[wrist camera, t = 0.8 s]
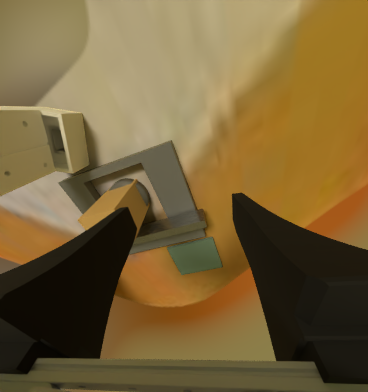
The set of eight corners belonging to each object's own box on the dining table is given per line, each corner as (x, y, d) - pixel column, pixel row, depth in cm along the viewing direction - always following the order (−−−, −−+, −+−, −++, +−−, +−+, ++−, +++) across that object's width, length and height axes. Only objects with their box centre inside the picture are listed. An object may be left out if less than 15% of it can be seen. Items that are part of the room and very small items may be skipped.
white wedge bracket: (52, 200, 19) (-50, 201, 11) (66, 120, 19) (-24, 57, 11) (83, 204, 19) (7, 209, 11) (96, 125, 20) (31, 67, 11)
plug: (123, 215, 23) (99, 253, 17) (103, 185, 21) (68, 216, 15) (155, 206, 22) (142, 243, 16) (138, 173, 20) (116, 201, 14)
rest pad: (181, 273, 29) (181, 275, 29) (167, 247, 26) (167, 248, 26) (222, 265, 28) (222, 267, 27) (212, 236, 24) (212, 238, 24)
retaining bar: (107, 240, 24) (97, 257, 21) (102, 233, 23) (91, 249, 20) (205, 215, 21) (207, 230, 18) (202, 206, 20) (204, 221, 18)
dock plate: (119, 251, 27) (116, 257, 26) (64, 179, 20) (58, 182, 19) (204, 230, 24) (205, 236, 23) (171, 140, 18) (170, 142, 17)
